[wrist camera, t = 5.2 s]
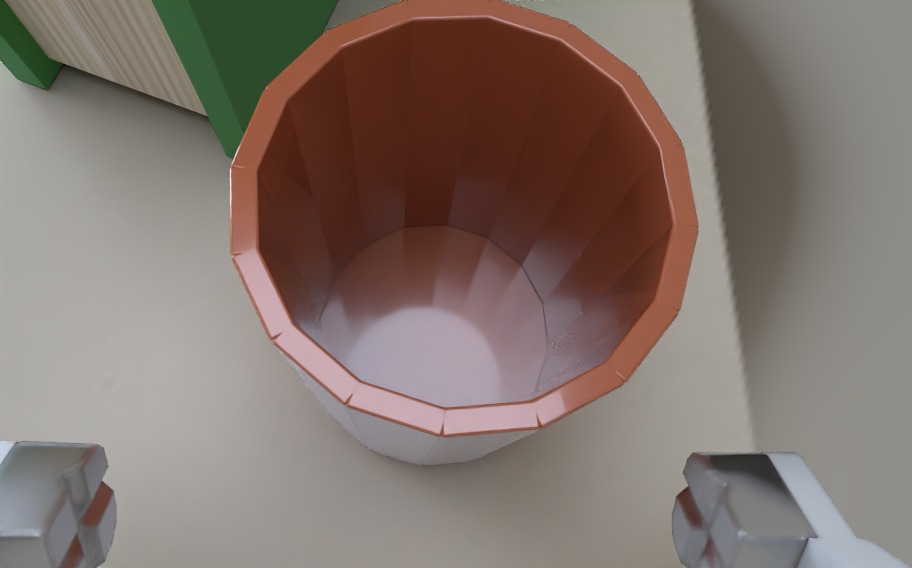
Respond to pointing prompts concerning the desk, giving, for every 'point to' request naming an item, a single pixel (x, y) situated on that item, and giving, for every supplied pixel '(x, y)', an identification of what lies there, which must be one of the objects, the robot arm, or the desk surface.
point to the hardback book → (166, 48)
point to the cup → (460, 224)
